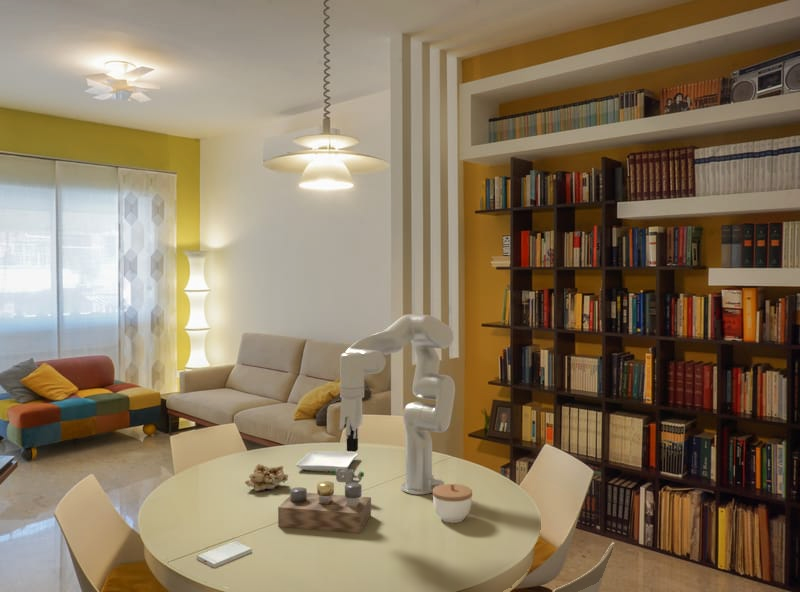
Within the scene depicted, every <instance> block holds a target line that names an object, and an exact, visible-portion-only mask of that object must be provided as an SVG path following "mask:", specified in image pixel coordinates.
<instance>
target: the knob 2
mask: <svg viewBox="0 0 800 592" xmlns="http://www.w3.org/2000/svg"><path fill="white" fill-rule="evenodd" d="M362 491H363V490H362V484H360V483H349V484H346V483H345V485H344V495H345V497H347V506H351V507H358V506H359V497H362Z"/></svg>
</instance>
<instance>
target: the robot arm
mask: <svg viewBox="0 0 800 592" xmlns="http://www.w3.org/2000/svg"><path fill="white" fill-rule="evenodd" d="M453 341H454V332H453V329H452V328H451V327H450V326H449V324H446V323H445V322H443V321H441V320H440V319H438V318H436V317H434V316H432V315H429V314H414V313H408V314H404V315H401V316H400V317H399V318H398V319H397V320H395V321H394V322H393V323H392V324H391V325H390V326H388V327H386V329H384V330H383V331H379V332H377V333H374V334H371V335H368V336H365V337H362V338H361V339H359V340H357V341H355V342H354V343H353V344H352V345H350V346H349V347H348V348H347V349H346V351H344V352H342V354H340V357H339V397H340V398H341V401H340V413H339V414H340V415H339V430H340V431H344V430H345V437H346V452H352V453H357V451H358V450H359V428H360V426H361V425H362V424H363V398H365V375H368V374H369V375H375V374H379V373H381V372H382V371H383V370H384V369H385V366H386V364H387V363H386V362H387V359H386V357H385V355H390V354H394V353H397V352H399V351H401V350H402V349H403V348H404V347H405V346H407V345H408V344H409V343H411V345H412V346H413V348H414V352H415V354H416V364H415V371H414V374H413V375H414V376H413V381H412V395H414V396H415V397H416V398H417V399H423V400H431V401H435V404H434V403H429V402H423V401H413V402H409V403H407V404H406V405H405V407H404V409H403V410H402V411H403V412H402V419H403V424H404V432H405V482H403V483H402V484H401V485H400V486H401V490H402V491H403V492H405V494H411V495H428V494H431V493H432V494H433V489H434V488H435V487H436V486H439V485H444V484H445V481H443V480H442V479H436V478H435V477H434V476H435V475H434V474H433V440H432V435H431V433H430V432H433V433H444V432H446V431H447V429H448V428H449V426H450V424H451V419H452V413H453V408H454V401H455V394H456V385H455V381H454V379H453V377H451V376H450V375H446V374H441V373H439V372H440V365H441V361H440V357H439V354H438V352H437V350H436V349H447V348H449V347H450V346H451V345H452V344H453Z"/></svg>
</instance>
